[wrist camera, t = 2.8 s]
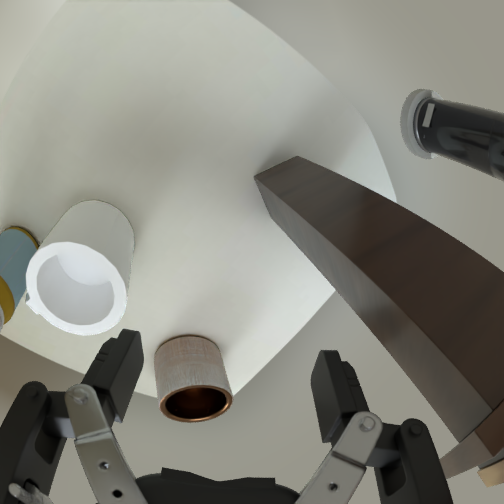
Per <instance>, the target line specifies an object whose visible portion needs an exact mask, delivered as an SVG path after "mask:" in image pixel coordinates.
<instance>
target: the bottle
mask: <svg viewBox="0 0 504 504" xmlns="http://www.w3.org/2000/svg"><path fill="white" fill-rule="evenodd" d="M37 250H38V246H37V243H36V241H35V240H34V239H33V237H32V236H31V235H30V234H29V233H28V232H26V231H25V230H23V229H21V228H18V227H10V228H8V229H6V230H5V231H3V232H2V233H1V234H0V332H1V329H2V327H3V325H4V324H5V323H7V322H8V321H9V320H10V319H11V317H12V315H13V313H14V311H15V309H16V307H17V305H18V303H19V301H20V299H21V297H22V296H23V294H24V292H25V290H26V272H27V268H28V265H29V262H30V260H31V258H32V257H33V255H34V254H35V252H36V251H37Z"/></svg>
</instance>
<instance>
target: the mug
mask: <svg viewBox="0 0 504 504" xmlns="http://www.w3.org/2000/svg"><path fill="white" fill-rule="evenodd" d="M134 246H135V241H134V232H133V230H132V227H131V225H130V223H129V221H128V219H127V218H126V217H125V216H124V215H123V214H122V212H121V211H120V210H119V209H117V208H115V207H114V206H112V205H110V204H109V203H106V202H101V201H97V200H91V201H82V202H80V203H78V204H76V205H74V206H72V207H71V208H70V209H69V210H68V211H67V212H66V213H65V214H64V215H63V216H62V217H61V219H60V220H59V221H58V222H57V224H56V225H55V226H54V228H53V229H52V230H51V232H50V233H49V234H48V236H47V237H46V238H45V240H44V241H43V242H42V244H41V245H40V247H39V248H38V250H37V251H36V252H35V254H34V255H33V257H32V258H31V260H30V262H29V265H28V268H27V272H26V288H27V291H28V292H27V294H26V304H27V305H28V306H29V307H30V308H31V309H32V310H33V311H34V312H35V314H36V315H38V314H39V313H40V315H41V316H42V317H44V318H45V319H46V320H47V321H48V322H50V323H51V324H52V325H54V326H56V327H58V328H60V329H62V330H64V331H66V332H69V333H73V334H78V335H96V334H99V333H102V332H105V331H108V330H109V329H111V328H112V327H113V326H115V325H116V324H117V323H118V322H119V321H120V319H121V317H122V316H123V314H124V313H125V309H126V303H127V297H128V288H129V280H130V273H131V265H132V259H133V252H134Z"/></svg>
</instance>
